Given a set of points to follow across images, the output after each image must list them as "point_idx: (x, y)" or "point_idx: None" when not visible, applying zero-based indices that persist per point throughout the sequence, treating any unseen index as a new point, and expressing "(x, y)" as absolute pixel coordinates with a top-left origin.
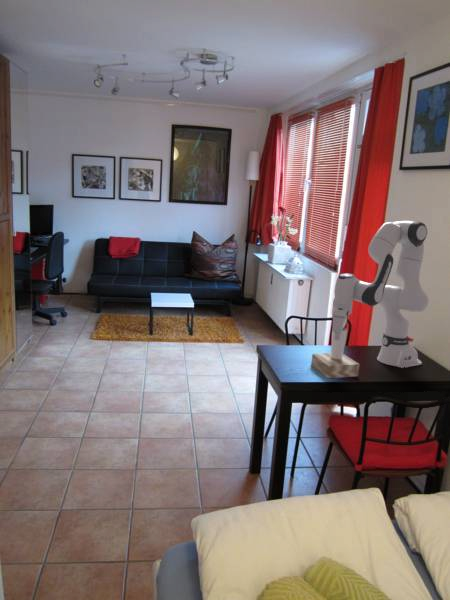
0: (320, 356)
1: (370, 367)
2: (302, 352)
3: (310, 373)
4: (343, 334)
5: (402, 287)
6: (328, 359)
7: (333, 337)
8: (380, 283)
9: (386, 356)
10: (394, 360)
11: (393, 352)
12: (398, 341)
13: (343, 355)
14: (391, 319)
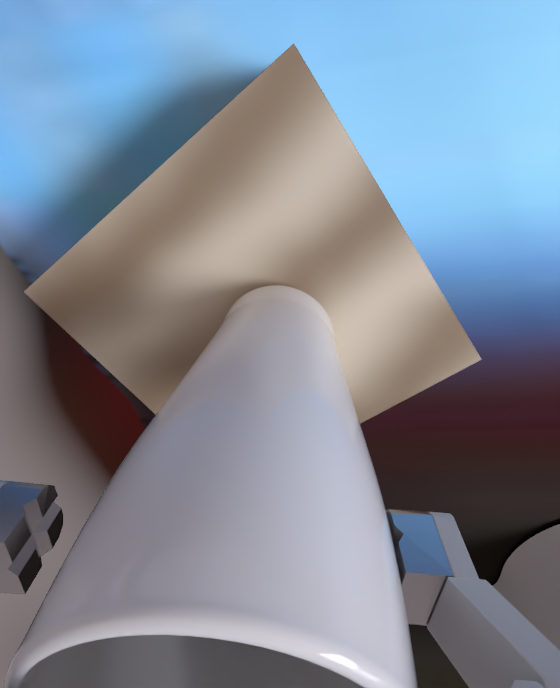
0: (248, 167)
1: (438, 481)
2: None
3: (90, 99)
4: (121, 659)
5: None
6: (200, 264)
7: (136, 444)
8: None
9: (555, 588)
10: (519, 603)
11: (557, 648)
12: None
13: (392, 382)
14: None
